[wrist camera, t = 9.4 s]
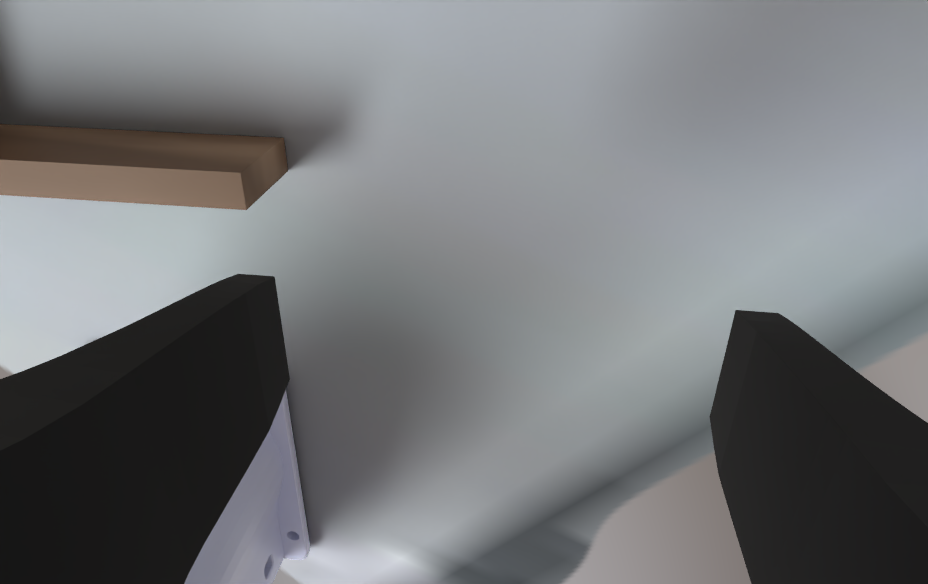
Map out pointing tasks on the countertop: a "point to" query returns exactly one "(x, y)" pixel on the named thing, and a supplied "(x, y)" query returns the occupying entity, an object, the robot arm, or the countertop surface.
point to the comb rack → (139, 166)
